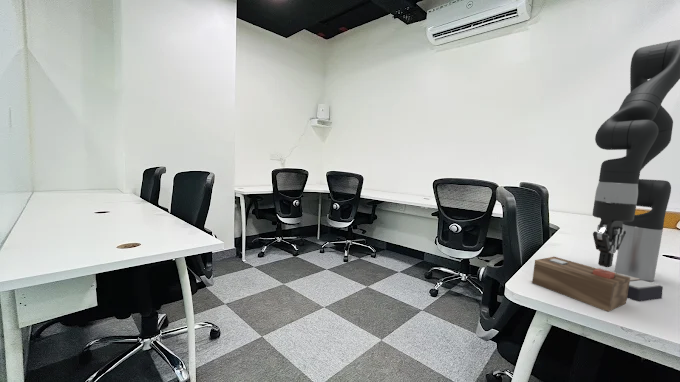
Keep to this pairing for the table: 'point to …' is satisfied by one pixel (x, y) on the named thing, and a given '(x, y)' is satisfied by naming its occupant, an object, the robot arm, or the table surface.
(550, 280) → the block
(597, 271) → the red plug
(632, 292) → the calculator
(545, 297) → the table surface
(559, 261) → the grey plug
